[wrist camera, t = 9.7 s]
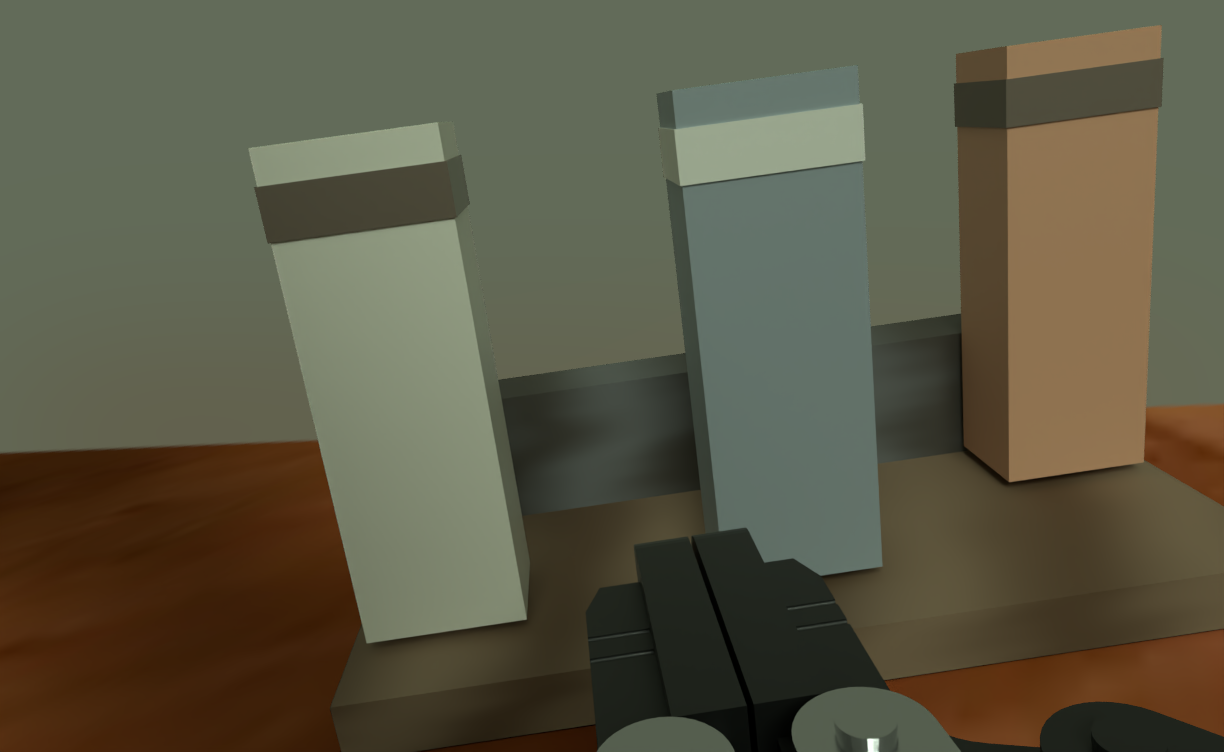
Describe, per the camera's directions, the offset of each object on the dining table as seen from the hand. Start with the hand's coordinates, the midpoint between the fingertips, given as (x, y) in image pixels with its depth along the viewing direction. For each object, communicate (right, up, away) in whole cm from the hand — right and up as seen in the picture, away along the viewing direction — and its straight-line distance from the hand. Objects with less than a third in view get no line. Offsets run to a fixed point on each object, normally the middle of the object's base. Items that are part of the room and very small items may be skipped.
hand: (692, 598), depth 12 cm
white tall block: (-5, -3, +12) cm, 13 cm away
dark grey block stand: (+4, -3, +15) cm, 15 cm away
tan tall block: (+12, +1, +16) cm, 20 cm away
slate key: (+4, -2, +12) cm, 13 cm away
